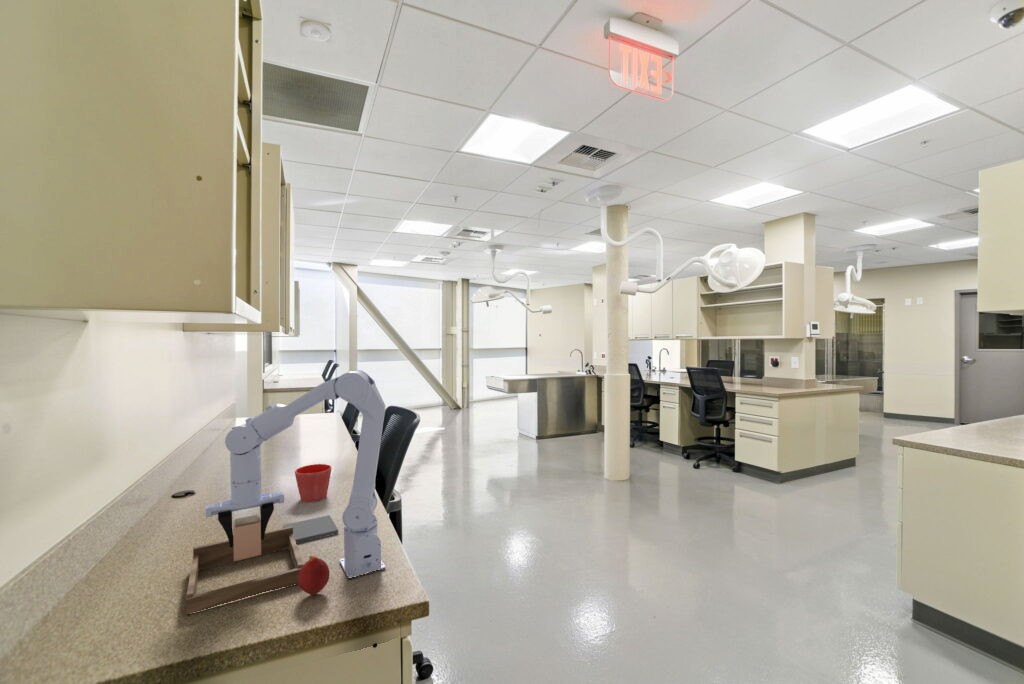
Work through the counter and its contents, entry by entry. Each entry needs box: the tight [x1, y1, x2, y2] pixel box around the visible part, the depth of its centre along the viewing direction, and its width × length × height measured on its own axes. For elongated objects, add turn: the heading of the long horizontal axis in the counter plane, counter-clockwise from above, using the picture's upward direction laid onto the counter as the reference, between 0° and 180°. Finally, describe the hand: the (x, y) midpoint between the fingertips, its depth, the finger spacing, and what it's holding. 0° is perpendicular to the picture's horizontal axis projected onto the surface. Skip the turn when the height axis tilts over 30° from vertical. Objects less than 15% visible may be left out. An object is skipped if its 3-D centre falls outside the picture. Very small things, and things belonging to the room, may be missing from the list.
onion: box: [297, 554, 330, 596], centre depth 88 cm, size 6×6×8 cm
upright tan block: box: [232, 514, 262, 562], centre depth 95 cm, size 5×5×7 cm
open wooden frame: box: [185, 526, 304, 616], centre depth 95 cm, size 20×20×5 cm
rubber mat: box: [282, 514, 339, 544], centre depth 117 cm, size 12×12×1 cm
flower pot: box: [294, 463, 332, 503], centre depth 143 cm, size 11×11×10 cm
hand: (247, 541), depth 95 cm, fingers closed on upright tan block, 5 cm apart
